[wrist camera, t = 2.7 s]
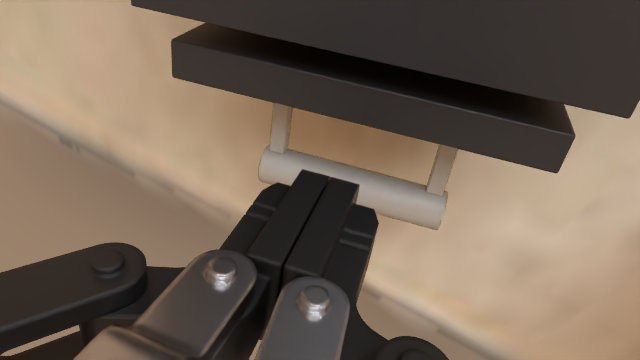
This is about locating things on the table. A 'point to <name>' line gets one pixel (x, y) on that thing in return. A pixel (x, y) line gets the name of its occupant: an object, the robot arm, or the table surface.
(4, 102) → the table surface
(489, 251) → the table surface
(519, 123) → the drawer
